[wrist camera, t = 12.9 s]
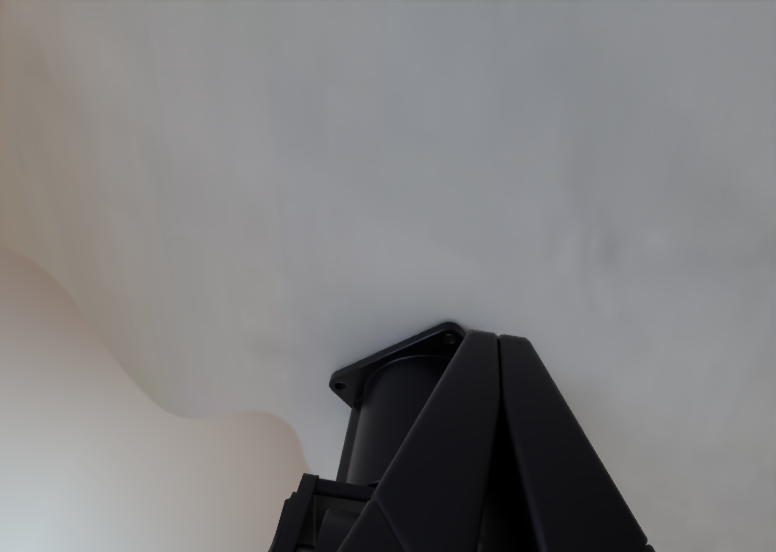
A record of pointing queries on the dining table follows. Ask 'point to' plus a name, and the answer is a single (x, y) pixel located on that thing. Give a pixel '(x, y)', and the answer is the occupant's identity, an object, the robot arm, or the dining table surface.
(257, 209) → the dining table surface
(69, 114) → the dining table surface
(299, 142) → the dining table surface
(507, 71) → the dining table surface
